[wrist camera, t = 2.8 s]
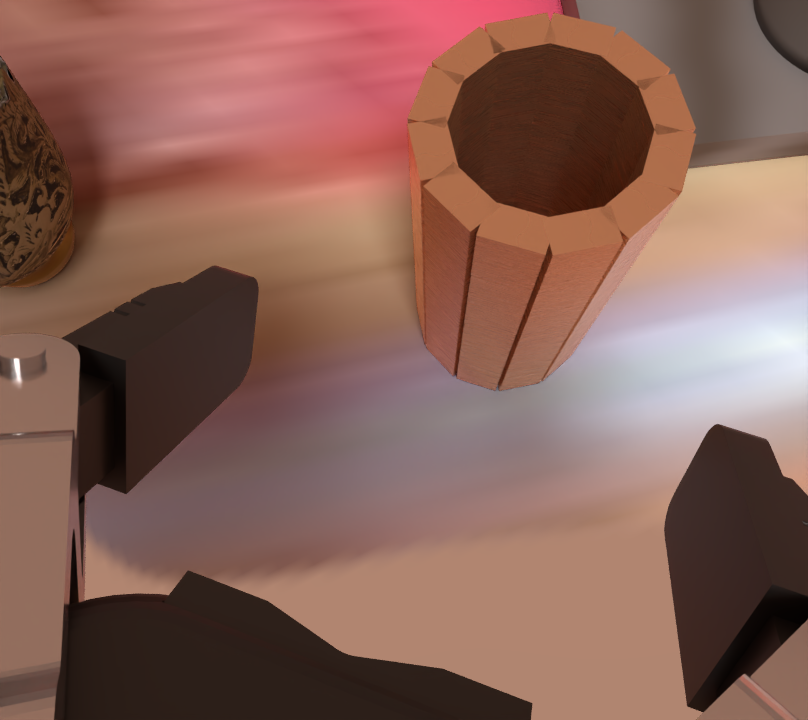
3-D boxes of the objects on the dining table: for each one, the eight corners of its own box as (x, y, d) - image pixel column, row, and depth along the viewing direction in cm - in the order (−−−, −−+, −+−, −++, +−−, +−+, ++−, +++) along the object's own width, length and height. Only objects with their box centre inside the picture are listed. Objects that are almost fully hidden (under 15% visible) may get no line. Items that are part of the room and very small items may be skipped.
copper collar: (397, 359, 22) (372, 205, 13) (447, 221, 24) (459, -10, 14) (556, 410, 21) (657, 287, 12) (598, 264, 23) (717, 51, 13)
